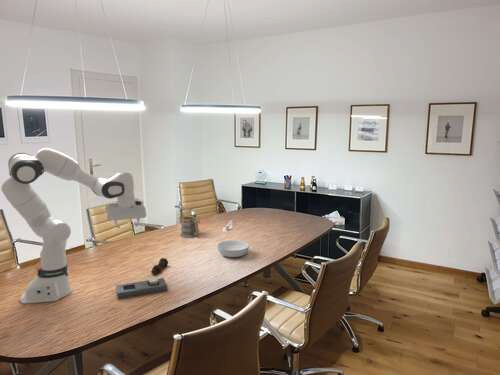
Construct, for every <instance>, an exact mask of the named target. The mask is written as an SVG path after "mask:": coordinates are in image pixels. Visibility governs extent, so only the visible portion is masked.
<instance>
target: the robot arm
mask: <svg viewBox="0 0 500 375" xmlns="http://www.w3.org/2000/svg"><path fill="white" fill-rule="evenodd" d="M7 164H8V174H9V176H10V177H9V178H8V179H7V180H5V181H4V182H3V183H2V185H1V187H0V188H1V189H0V190H1V191H2V193H3V195H4V197H5V198H6V200H7V201H8V202H9V204H10V205H11V206H12V207H13V208H14V209H15V210H16V212H18V214H20V216H21V217H22V218H23V219H24V221H25V222H26V223H27V225H28V227H29V228H30V230H32V232H33V233H34V234H35V235H36V236H37V237H39V238H41V239H42V248H41V251H40V253H39V254H40V255H39V256H40V266H37V268H36V275H37V276H35V277H34V278H33V279H31V281H29V282H28V283H27V285H26V287H25V291H24V292H23V293H22V294H21V296H20V303H21V304H24V305H25V304H37V303H47V302H56V301H58V300H60V299H61V298H64V297H66V296H68V295H70V294H71V293H72V292H73V288H72V287H71V283H70V279H69V266H68V264H67V257H66V248H67V242H68V240H69V238H70V237H71V231H72V230H71V227H70V226H69V224H67V222H65V221H64V220H61V219H58V218H56V217H55V216H54V215H52V213H51V212H50V210H49V208H48V206H47V204H46V203H45V201H44V200H43V199H42V197H41V196H40V195H39V194H38V193H37V191H35V190H34V188H33V187H32V186H31V183H33V182H35V181H36V180H37V179H38V178H39V177H41V176H42V175H43V174H44V173H48V174H50V175H52V176H54V177H56V178H59V179H61V180H65V181H70V182H71V181H75V182H77V183H80V184H82V185H84V186H85V187H88V188H89V189H91V191H92V192H93V193H94V194H95V195H96V196H98V197H103V198H105V199H109V200H111V199H117V200H116V202H113V203H111V202H110V203H108V204H106V205H105V211H106V220H107V221H109V222H112V221H113V222H114V224H115V225H116V228H117V229H120V228H121V226H120V225H121V224H119V223H118V221H122V220H133V219H136V222H134V227H139V222H140V221H141V219H145V218H146V217H147V212H146V211H147V210H146V206H145V205H144V201H143V200H142V199H141V198H136V197H135V193H134V190H135V184H134V177H133V175H132V174H131V173H130V172H125V171H124V172H123V171H119V172H117V173H116V174H115V175H113V176H112V177H110V178H107V177H106V178H105V177H100V176H99V177H98V176H95V175H93V174H90V173H88V172H87V171H85V170H83V169H82V168H81V166H80V163H79V162H78V161H76V160H75V159H73V158H72V157H70V156H68V154H67V155H66V154H65V153H63V152H60V151H58V150H55V149H52V148H49V147H43V148H41V149H39V150H38V151H37V152H36V154H35V155H34V156H33V155H32V156H31V155H30V154H28V153H25V152H17V153H15V154H13V155H12V156H11V157H10V158H9V159H8V163H7Z"/></svg>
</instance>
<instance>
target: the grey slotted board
mask: <svg viewBox="0 0 500 375" xmlns="http://www.w3.org/2000/svg"><path fill="white" fill-rule="evenodd" d="M157 280H158V285H154V286H149V279H148V280H143V281H142V280H141V281H136V282H129V283H123V284H121V283H120V284H116V285H115V288H116V289H115V290H116V297H117V300H120V299H126V298H132V297H139V296H144V295H151V294H156V293H161V292H168V283H167V282H166V280H165V278H164V277H162V278H157Z"/></svg>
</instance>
